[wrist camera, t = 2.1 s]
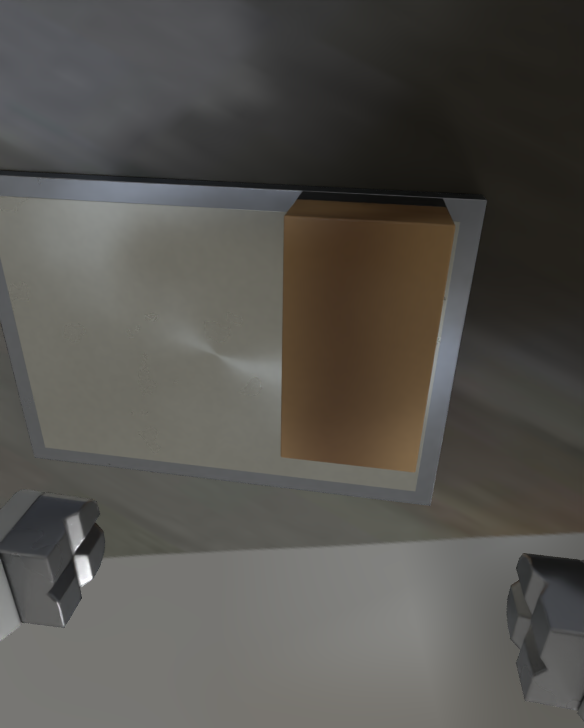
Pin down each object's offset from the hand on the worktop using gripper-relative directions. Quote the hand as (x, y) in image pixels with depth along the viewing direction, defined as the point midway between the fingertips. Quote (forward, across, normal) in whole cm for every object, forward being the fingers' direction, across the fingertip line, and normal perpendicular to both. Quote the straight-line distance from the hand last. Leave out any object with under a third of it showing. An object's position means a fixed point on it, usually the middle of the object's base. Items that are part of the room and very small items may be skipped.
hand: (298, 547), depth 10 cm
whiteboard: (+14, +5, +3) cm, 15 cm away
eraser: (+12, -1, 0) cm, 13 cm away
